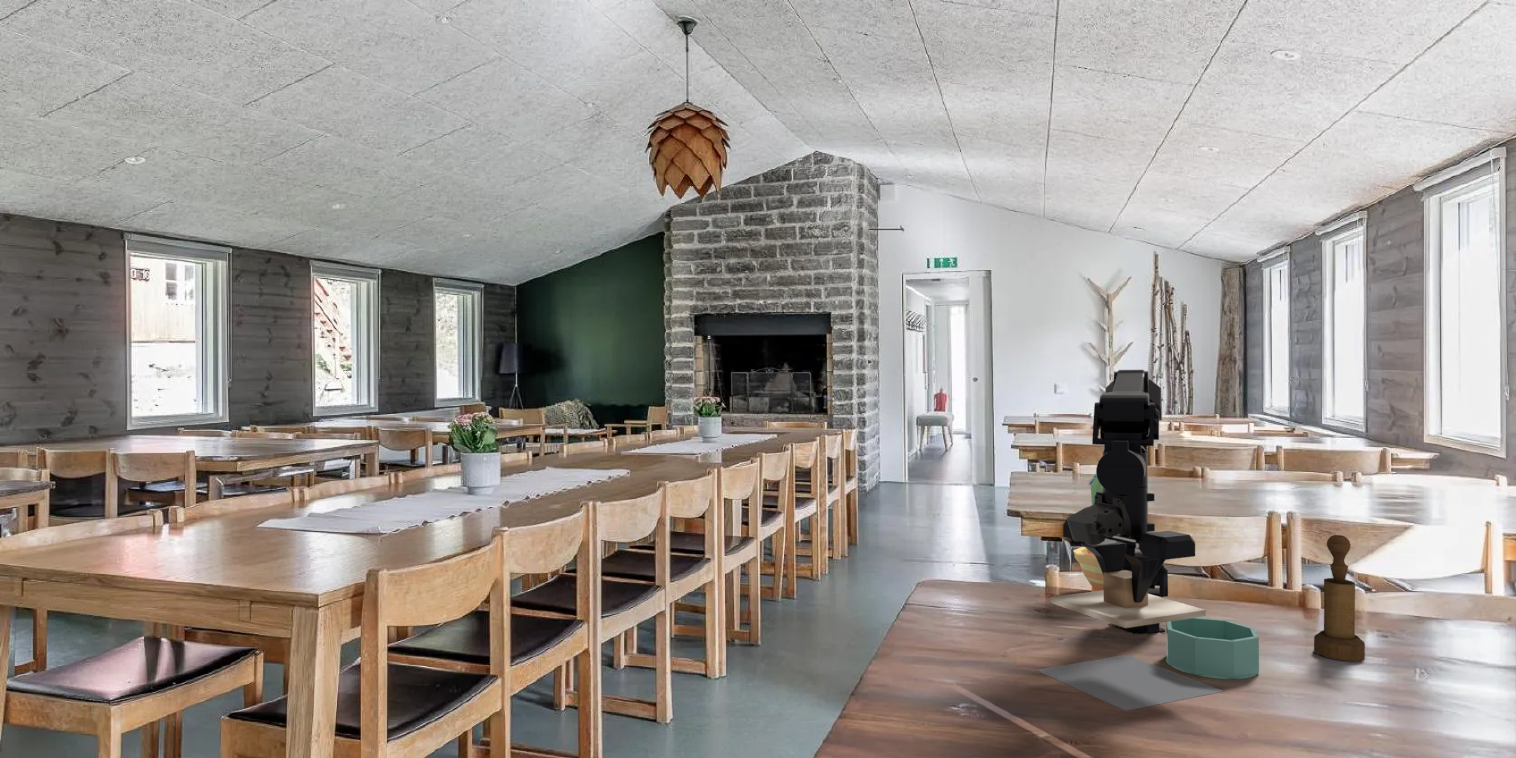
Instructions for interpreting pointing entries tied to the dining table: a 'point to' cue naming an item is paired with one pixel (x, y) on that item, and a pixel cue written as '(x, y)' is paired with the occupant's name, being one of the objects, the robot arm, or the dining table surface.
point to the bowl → (1212, 648)
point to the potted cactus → (1088, 558)
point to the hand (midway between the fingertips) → (1125, 598)
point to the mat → (1128, 682)
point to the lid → (1126, 604)
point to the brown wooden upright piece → (1339, 609)
